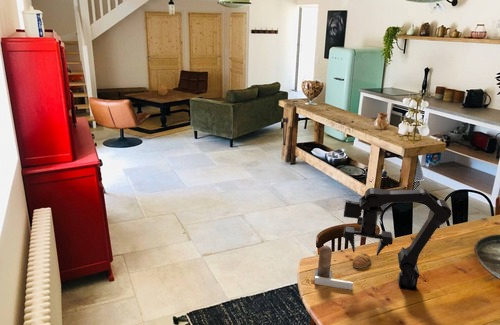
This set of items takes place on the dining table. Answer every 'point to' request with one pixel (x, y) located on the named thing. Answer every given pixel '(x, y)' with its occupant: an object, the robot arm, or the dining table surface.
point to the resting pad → (319, 276)
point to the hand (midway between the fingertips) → (365, 253)
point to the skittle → (324, 261)
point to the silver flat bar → (333, 282)
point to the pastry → (361, 260)
